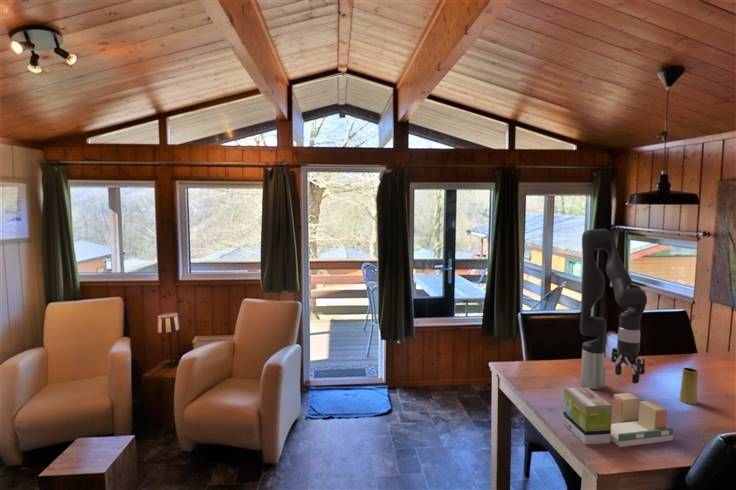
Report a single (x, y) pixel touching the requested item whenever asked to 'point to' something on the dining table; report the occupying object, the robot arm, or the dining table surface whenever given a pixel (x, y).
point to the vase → (689, 386)
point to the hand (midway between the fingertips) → (626, 378)
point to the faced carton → (652, 415)
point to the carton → (625, 407)
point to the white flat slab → (638, 434)
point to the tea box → (587, 415)
